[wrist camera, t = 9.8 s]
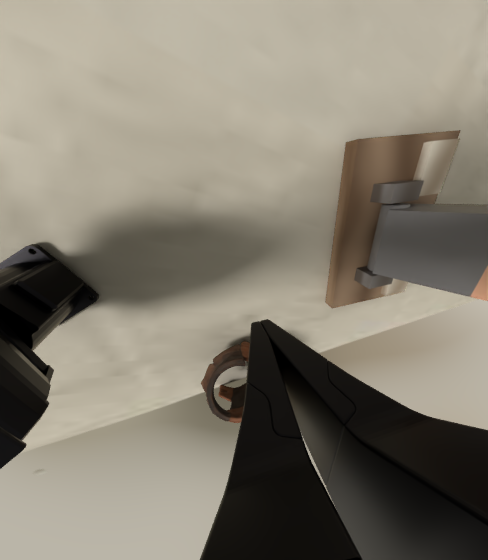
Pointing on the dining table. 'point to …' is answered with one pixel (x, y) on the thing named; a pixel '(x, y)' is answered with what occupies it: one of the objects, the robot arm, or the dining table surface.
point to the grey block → (433, 246)
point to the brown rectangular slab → (371, 195)
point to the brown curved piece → (234, 395)
